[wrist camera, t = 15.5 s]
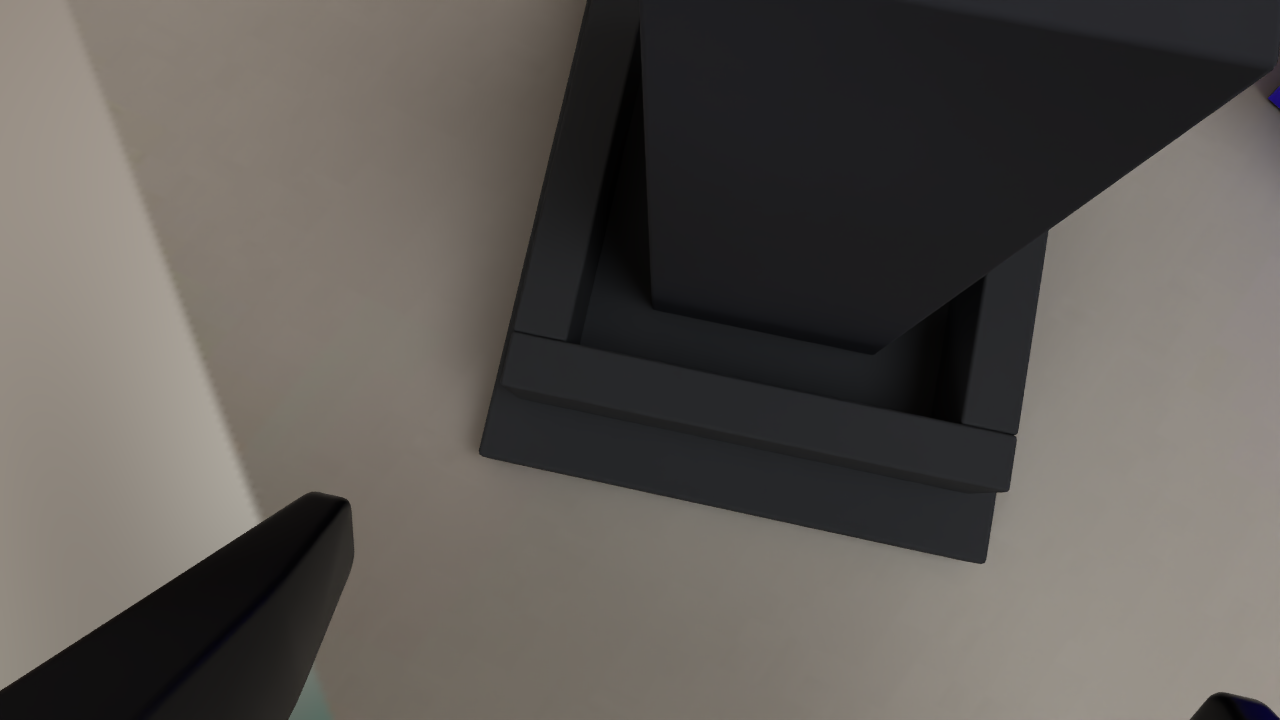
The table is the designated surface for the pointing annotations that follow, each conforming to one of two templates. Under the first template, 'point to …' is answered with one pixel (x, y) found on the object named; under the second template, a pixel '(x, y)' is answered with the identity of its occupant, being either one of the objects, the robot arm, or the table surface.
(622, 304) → the socket pad
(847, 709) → the table surface
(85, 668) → the robot arm
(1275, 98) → the bracket
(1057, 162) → the black block
